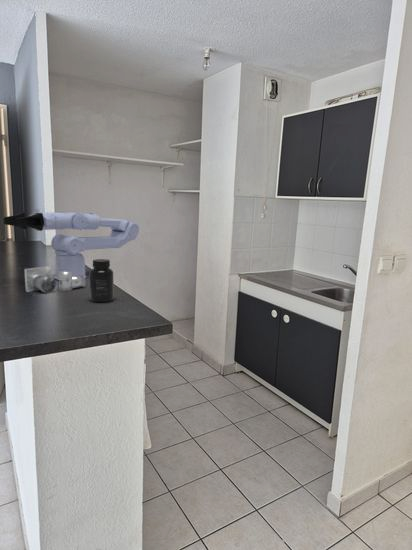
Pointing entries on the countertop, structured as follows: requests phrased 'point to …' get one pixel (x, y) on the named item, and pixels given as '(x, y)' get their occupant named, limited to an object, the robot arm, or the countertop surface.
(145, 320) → the countertop surface
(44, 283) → the duct stub
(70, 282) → the elbow
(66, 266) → the robot arm
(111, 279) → the supplement bottle
